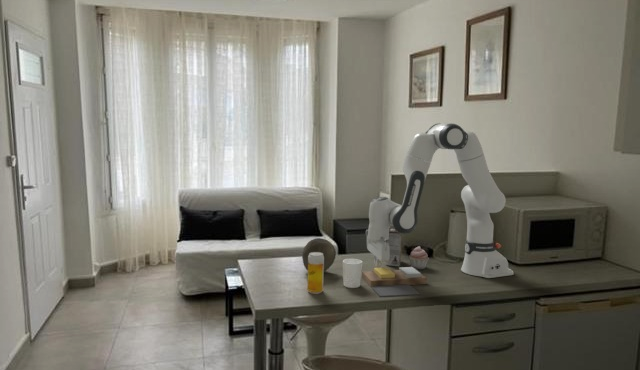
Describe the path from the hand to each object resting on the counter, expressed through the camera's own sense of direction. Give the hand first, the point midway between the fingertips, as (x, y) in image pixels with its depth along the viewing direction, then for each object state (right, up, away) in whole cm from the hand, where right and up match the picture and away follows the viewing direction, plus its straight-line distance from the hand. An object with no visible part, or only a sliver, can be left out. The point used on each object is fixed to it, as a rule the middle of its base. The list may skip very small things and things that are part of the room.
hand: (377, 265), depth 207 cm
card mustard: (+2, -2, -8) cm, 9 cm away
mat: (+4, -6, -20) cm, 22 cm away
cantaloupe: (-26, -3, 0) cm, 26 cm away
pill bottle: (-27, -6, -23) cm, 36 cm away
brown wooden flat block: (+6, -5, -8) cm, 11 cm away
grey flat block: (+13, -2, -7) cm, 15 cm away
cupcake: (+20, -3, +11) cm, 23 cm away
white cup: (-12, -6, -15) cm, 20 cm away
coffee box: (+10, -2, +17) cm, 20 cm away
